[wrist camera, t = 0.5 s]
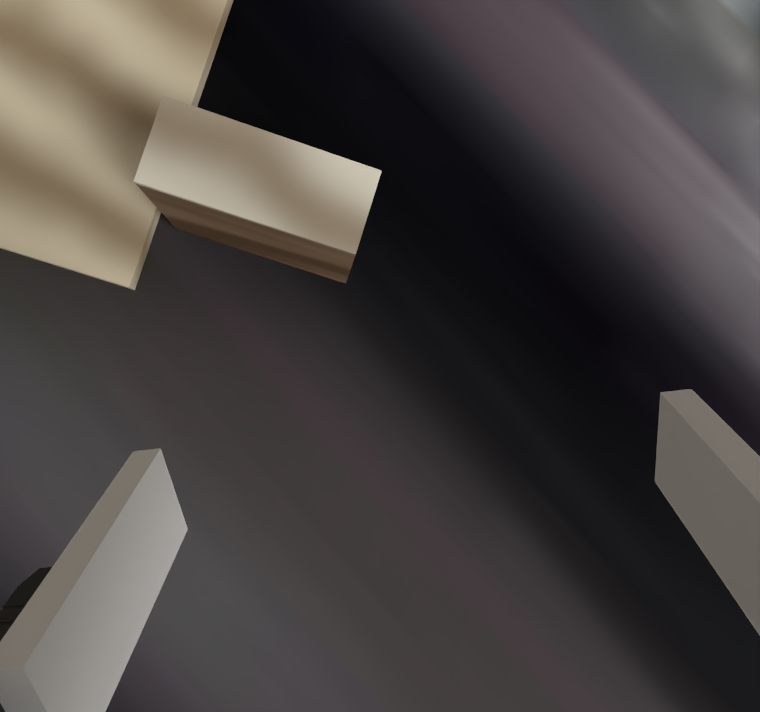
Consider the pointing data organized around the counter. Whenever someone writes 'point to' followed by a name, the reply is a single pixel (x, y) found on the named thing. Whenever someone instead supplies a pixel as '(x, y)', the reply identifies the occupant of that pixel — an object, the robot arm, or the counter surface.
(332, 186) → the wooden block
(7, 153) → the board
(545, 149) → the counter surface
